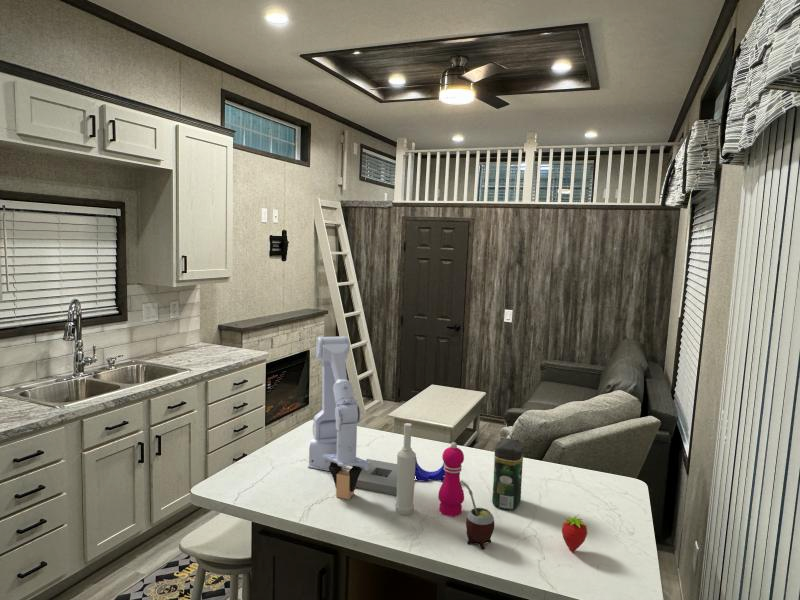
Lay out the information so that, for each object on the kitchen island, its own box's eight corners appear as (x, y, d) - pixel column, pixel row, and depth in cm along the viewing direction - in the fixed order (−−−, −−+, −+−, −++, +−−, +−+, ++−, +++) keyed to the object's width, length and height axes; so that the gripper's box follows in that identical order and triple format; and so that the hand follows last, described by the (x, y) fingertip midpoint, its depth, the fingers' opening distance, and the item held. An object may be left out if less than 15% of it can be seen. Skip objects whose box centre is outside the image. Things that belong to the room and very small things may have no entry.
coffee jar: (496, 493, 164) (499, 434, 162) (522, 499, 161) (526, 438, 159) (488, 507, 155) (492, 444, 153) (516, 513, 152) (520, 450, 150)
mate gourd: (497, 549, 134) (501, 491, 132) (467, 552, 132) (470, 493, 131) (486, 533, 141) (489, 478, 139) (457, 535, 139) (460, 479, 138)
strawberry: (588, 548, 136) (591, 510, 135) (581, 562, 129) (584, 523, 128) (564, 540, 139) (567, 503, 138) (556, 554, 132) (559, 515, 131)
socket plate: (347, 485, 165) (347, 478, 165) (367, 466, 180) (367, 458, 180) (396, 495, 160) (397, 487, 160) (412, 474, 175) (413, 466, 175)
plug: (336, 496, 158) (336, 473, 157) (341, 491, 161) (342, 468, 161) (348, 499, 156) (349, 476, 156) (354, 493, 160) (354, 470, 159)
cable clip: (409, 480, 171) (410, 462, 171) (411, 474, 176) (411, 456, 175) (447, 483, 170) (448, 465, 169) (448, 477, 174) (448, 459, 173)
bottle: (416, 508, 153) (419, 422, 150) (410, 517, 148) (414, 428, 145) (398, 505, 154) (402, 420, 152) (392, 513, 149) (395, 425, 147)
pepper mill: (446, 519, 147) (449, 448, 145) (432, 507, 153) (435, 439, 151) (468, 514, 150) (472, 445, 148) (454, 503, 157) (457, 436, 155)
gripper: (317, 445, 156) (316, 490, 157) (364, 453, 151) (363, 499, 153) (328, 437, 162) (327, 480, 164) (373, 444, 158) (372, 489, 159)
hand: (345, 488), depth 159 cm, fingers closed on plug, 4 cm apart
